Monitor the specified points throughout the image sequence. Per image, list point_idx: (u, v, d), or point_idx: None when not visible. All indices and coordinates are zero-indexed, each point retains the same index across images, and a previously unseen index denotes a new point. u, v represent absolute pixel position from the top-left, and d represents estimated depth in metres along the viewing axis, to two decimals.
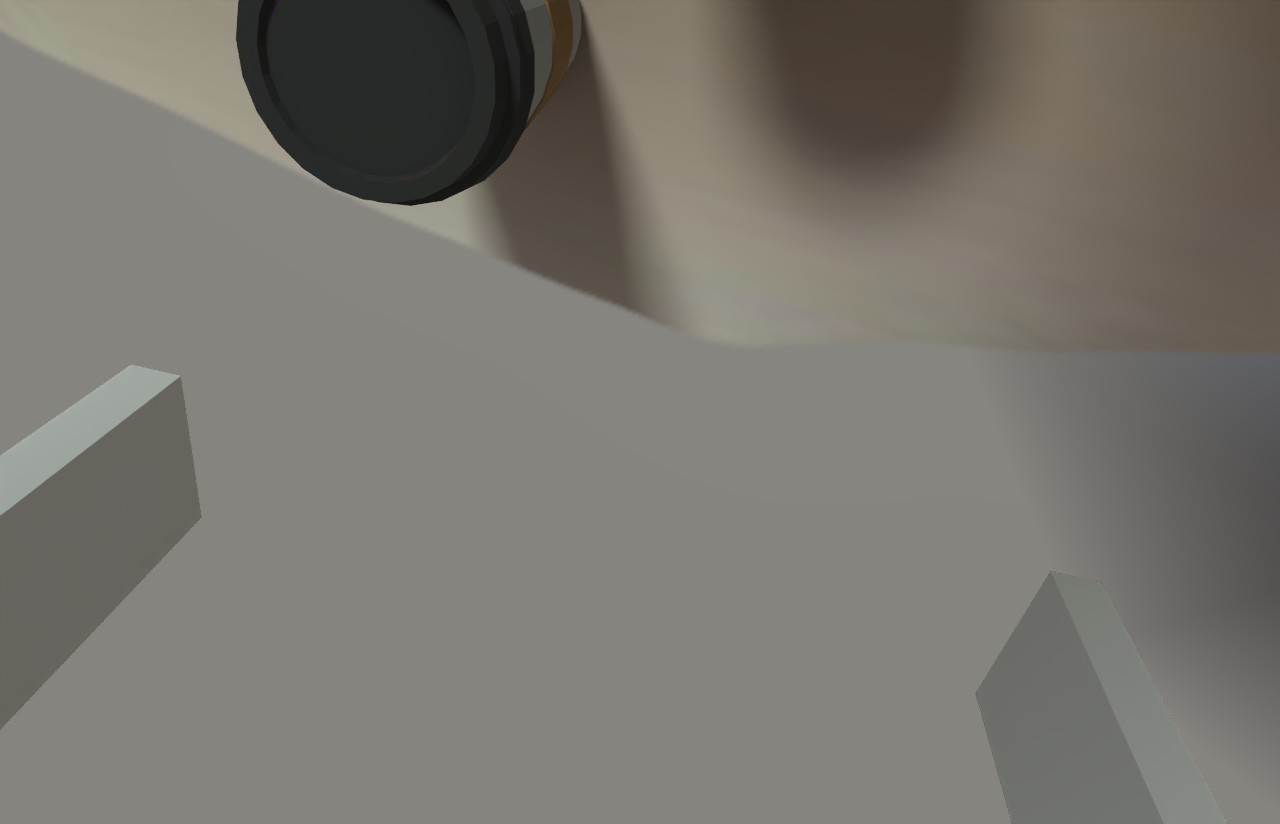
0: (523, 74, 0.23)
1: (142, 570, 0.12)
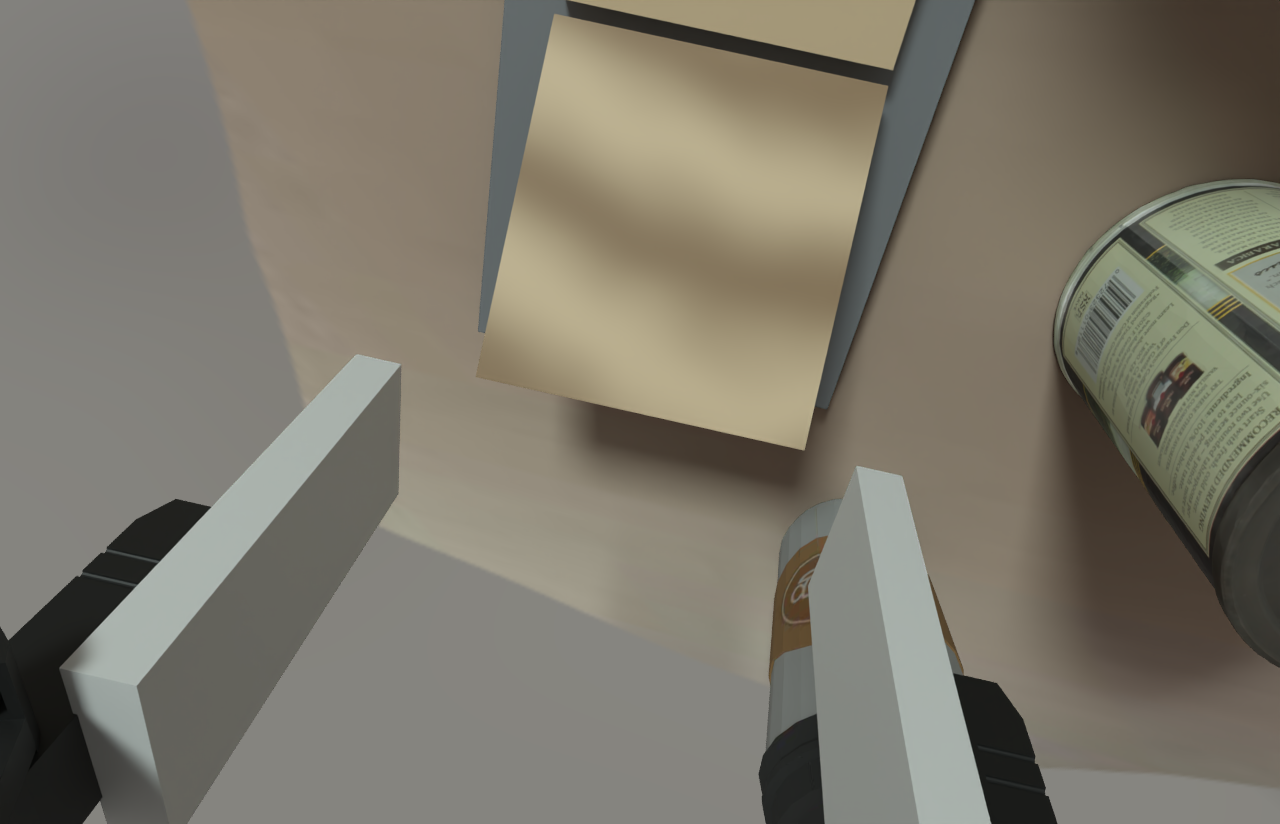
0: None
1: (364, 539, 0.13)
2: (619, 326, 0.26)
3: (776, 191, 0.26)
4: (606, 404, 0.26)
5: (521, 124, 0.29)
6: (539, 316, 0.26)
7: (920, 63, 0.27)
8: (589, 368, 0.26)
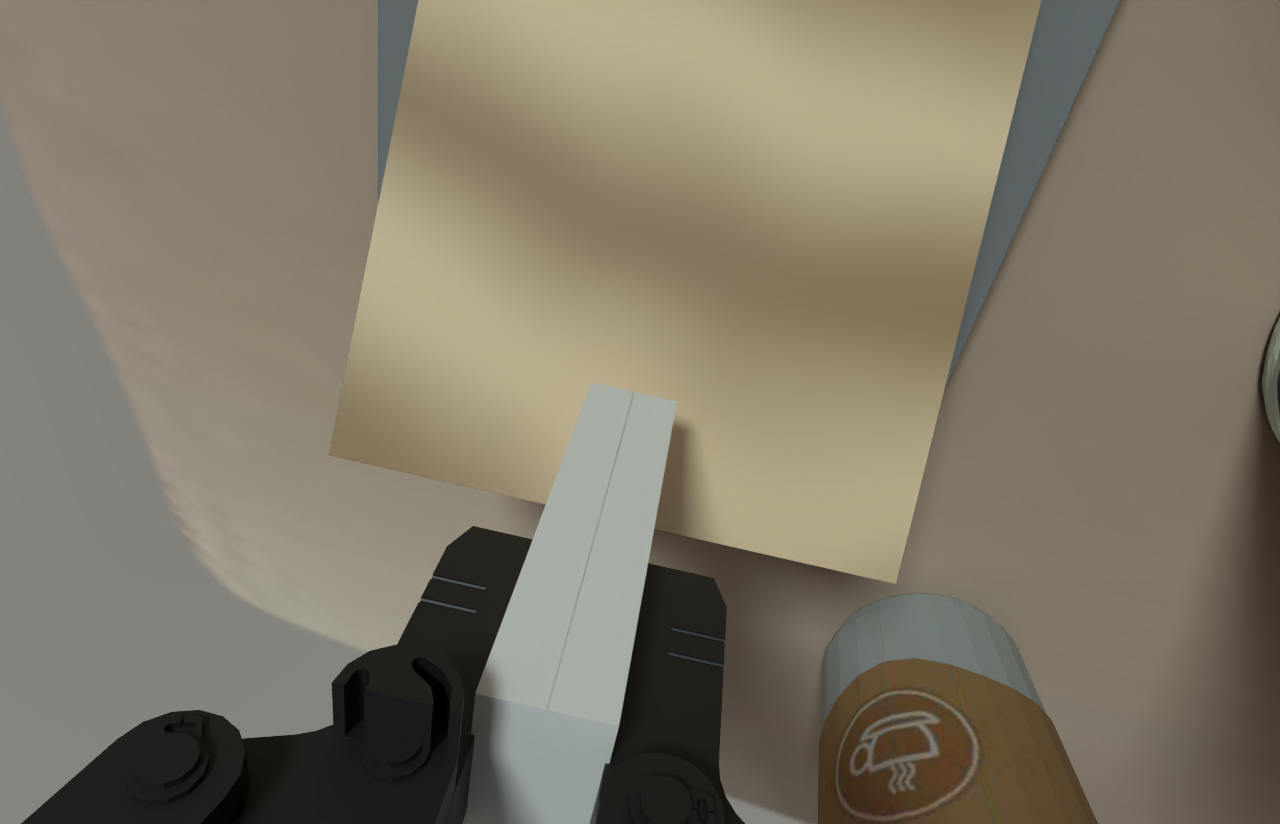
0: None
1: None
2: (575, 368, 0.15)
3: (852, 130, 0.15)
4: None
5: None
6: (436, 351, 0.15)
7: None
8: (523, 441, 0.15)
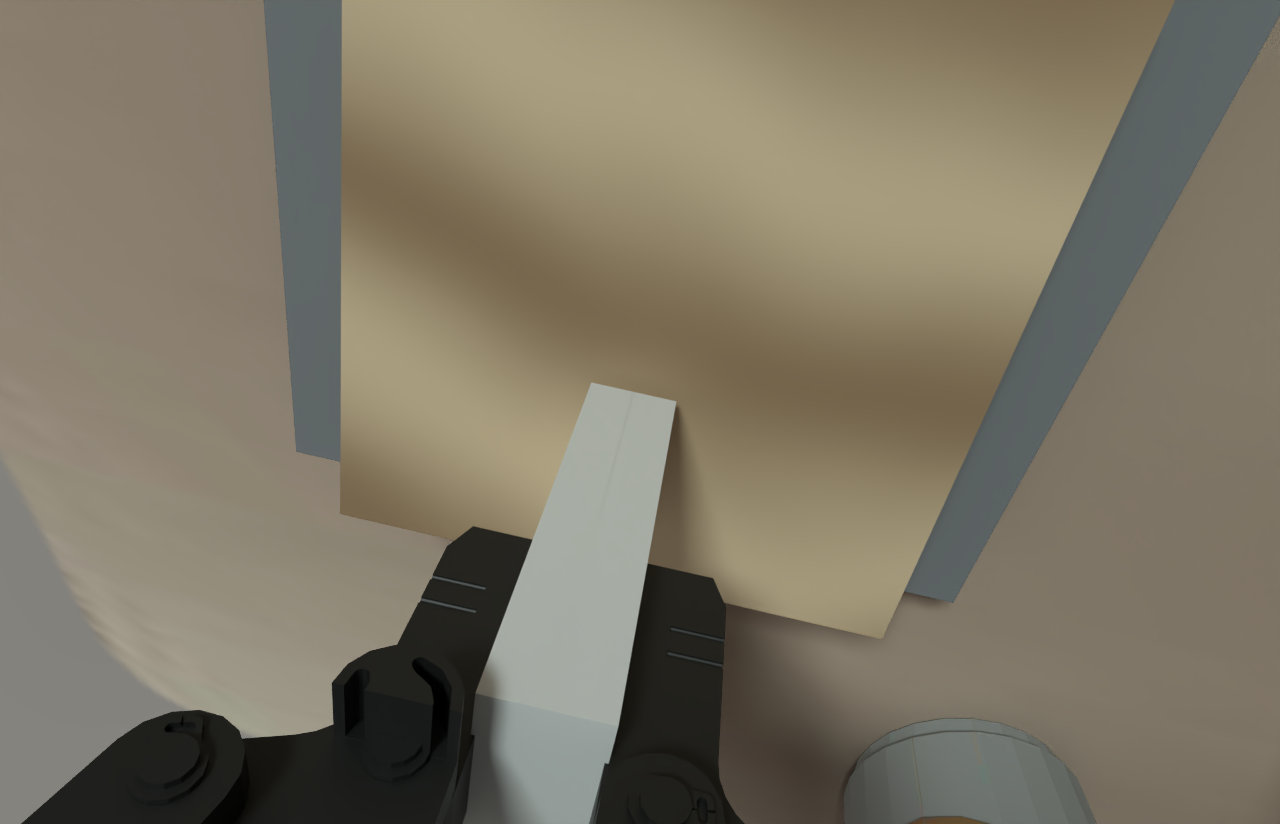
0: None
1: None
2: (565, 451, 0.15)
3: (877, 213, 0.12)
4: None
5: (323, 44, 0.13)
6: (425, 432, 0.15)
7: None
8: (521, 510, 0.15)
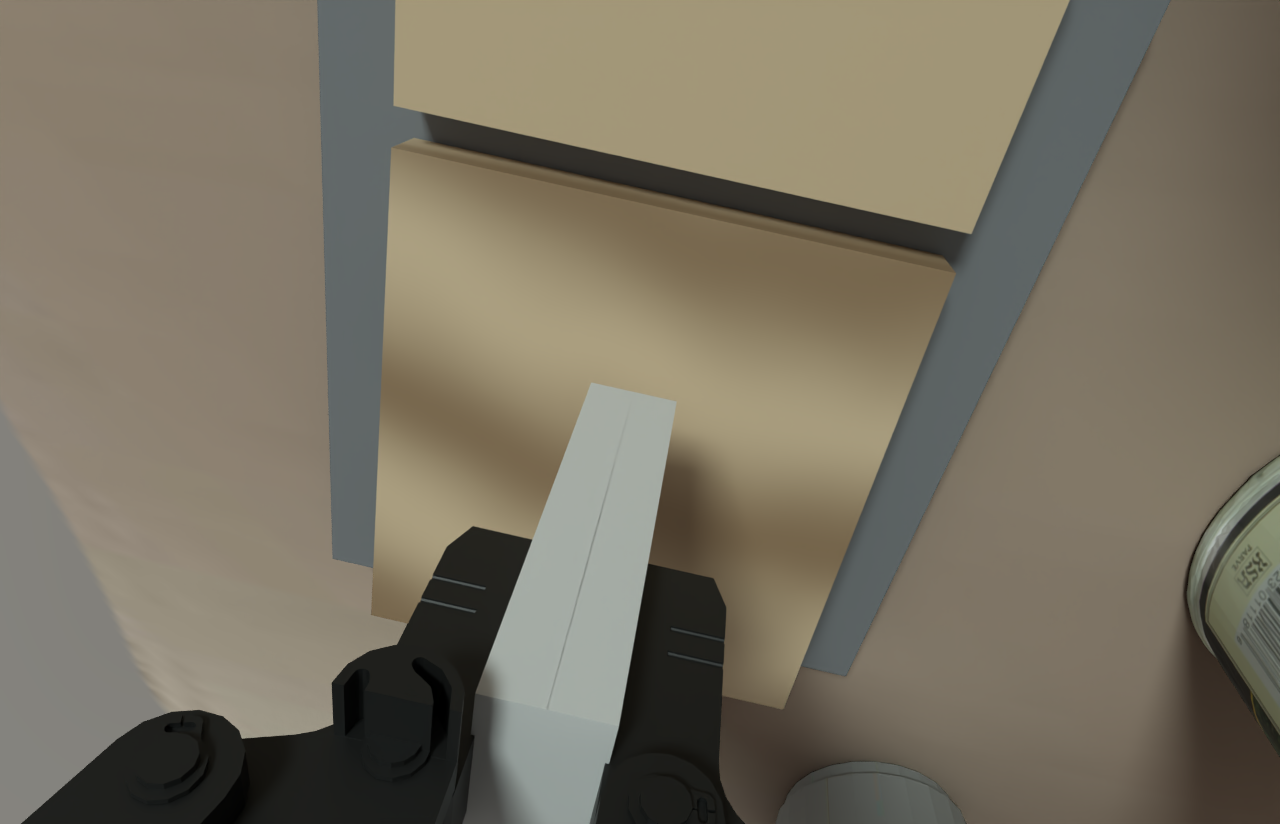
0: None
1: None
2: None
3: (759, 423, 0.17)
4: None
5: (366, 287, 0.18)
6: (438, 558, 0.20)
7: (1013, 213, 0.16)
8: None
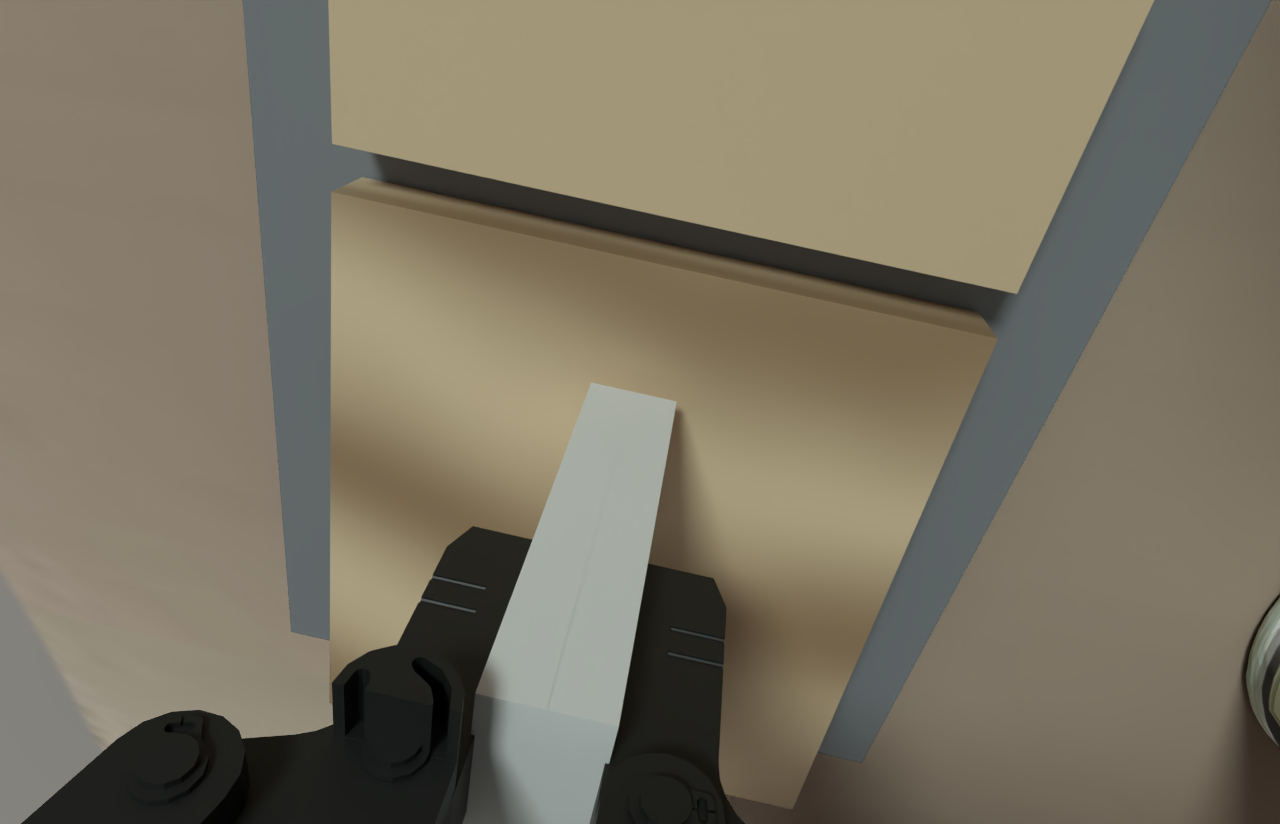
0: None
1: None
2: None
3: (765, 504, 0.15)
4: None
5: (315, 342, 0.16)
6: None
7: (1063, 265, 0.13)
8: None
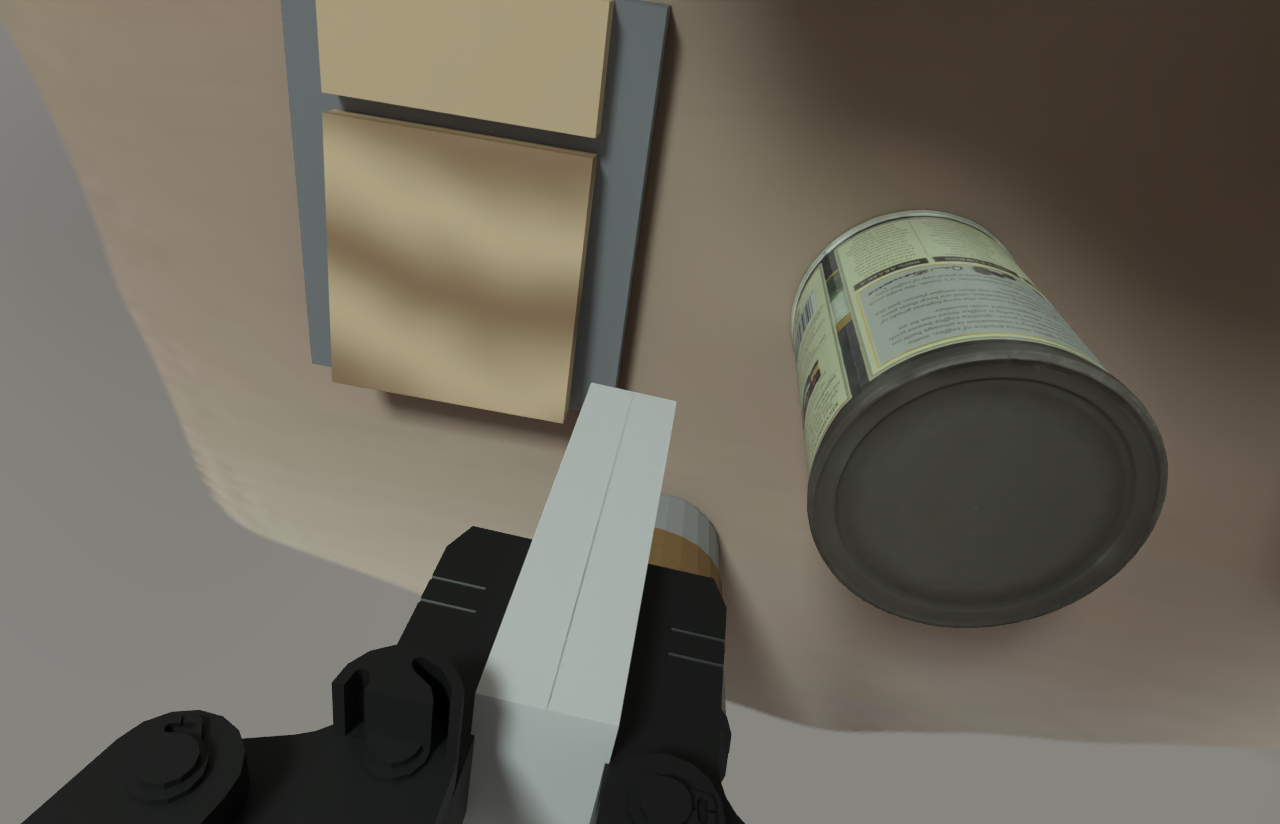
0: None
1: None
2: (421, 346, 0.36)
3: (517, 246, 0.34)
4: (423, 397, 0.37)
5: (318, 191, 0.35)
6: (365, 341, 0.36)
7: (625, 129, 0.32)
8: (407, 374, 0.37)
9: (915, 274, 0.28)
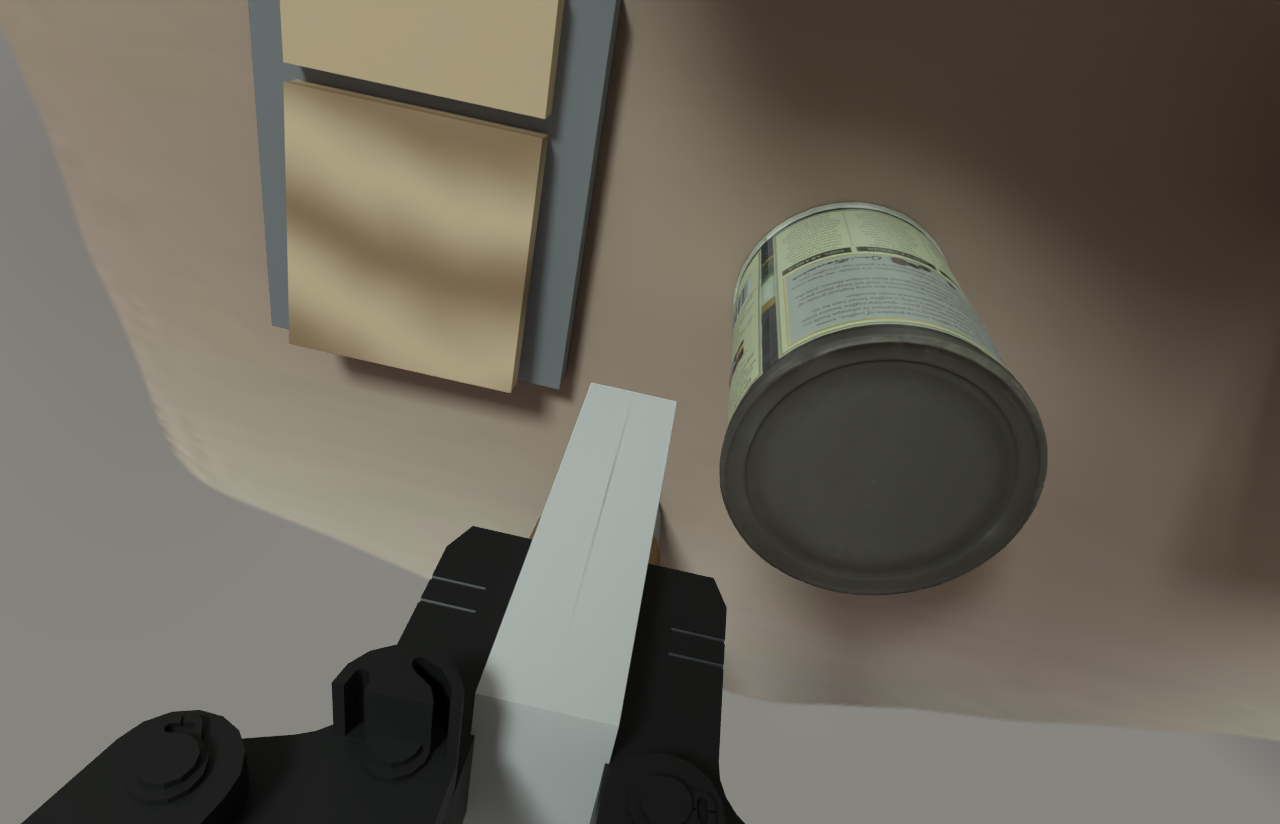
0: None
1: None
2: (376, 312, 0.38)
3: (469, 219, 0.35)
4: (377, 362, 0.39)
5: (280, 158, 0.36)
6: (321, 305, 0.38)
7: (575, 112, 0.34)
8: (361, 339, 0.38)
9: (836, 262, 0.30)
